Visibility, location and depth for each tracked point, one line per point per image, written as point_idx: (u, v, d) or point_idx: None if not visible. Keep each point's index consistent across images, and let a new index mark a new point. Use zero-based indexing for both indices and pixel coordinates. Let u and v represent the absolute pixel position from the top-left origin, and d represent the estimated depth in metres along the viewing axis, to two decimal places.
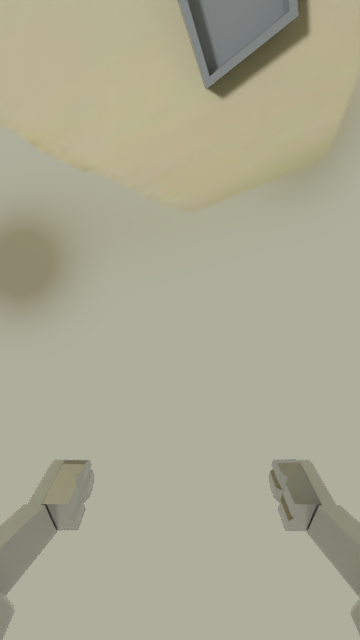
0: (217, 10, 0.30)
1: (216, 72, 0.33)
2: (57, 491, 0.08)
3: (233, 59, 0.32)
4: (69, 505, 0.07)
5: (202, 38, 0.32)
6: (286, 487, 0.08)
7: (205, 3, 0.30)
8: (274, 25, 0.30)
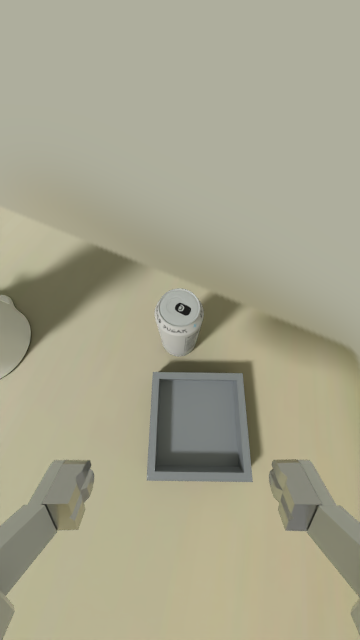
0: (203, 438, 0.32)
1: (244, 462, 0.28)
2: (57, 491, 0.08)
3: (243, 439, 0.29)
4: (69, 505, 0.07)
5: (212, 460, 0.31)
6: (286, 487, 0.08)
7: (194, 447, 0.31)
8: (238, 394, 0.31)
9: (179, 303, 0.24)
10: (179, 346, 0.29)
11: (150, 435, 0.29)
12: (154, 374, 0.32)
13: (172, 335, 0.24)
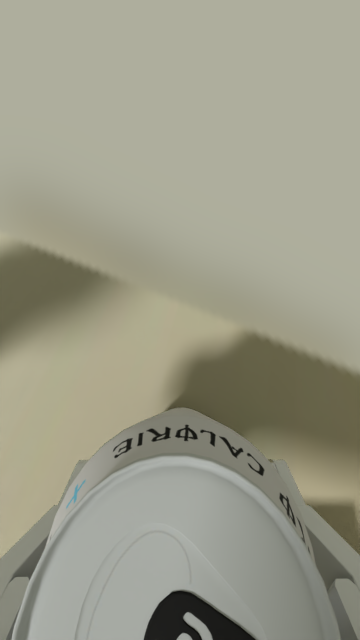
0: None
1: None
2: None
3: None
4: None
5: None
6: None
7: None
8: None
9: (180, 596, 0.03)
10: None
11: None
12: None
13: None
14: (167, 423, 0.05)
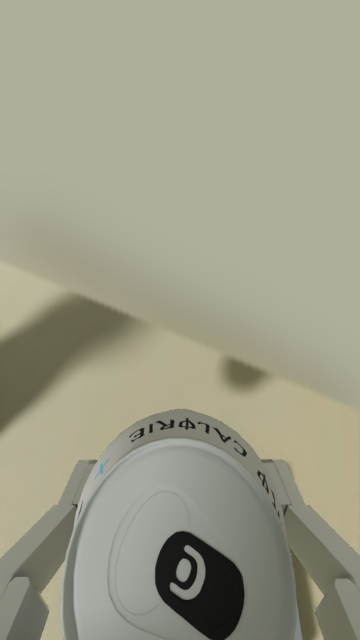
0: None
1: None
2: None
3: None
4: None
5: None
6: None
7: None
8: None
9: (181, 534, 0.05)
10: None
11: None
12: None
13: None
14: (171, 416, 0.07)
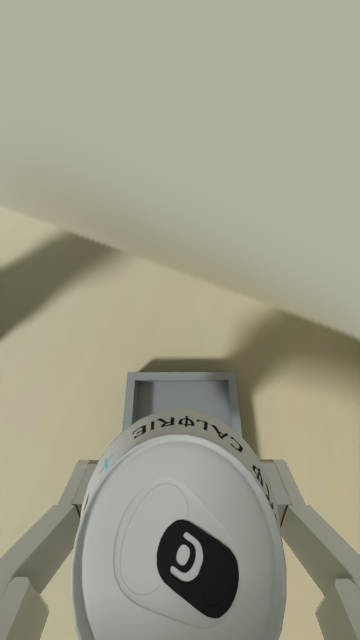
0: None
1: None
2: None
3: None
4: None
5: None
6: None
7: None
8: (231, 397, 0.26)
9: (180, 523, 0.05)
10: None
11: None
12: (129, 375, 0.27)
13: None
14: (172, 414, 0.07)
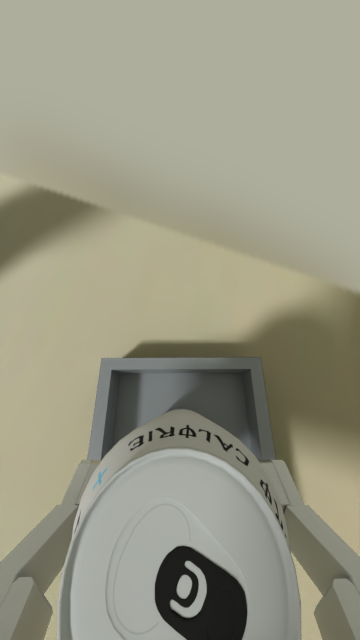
0: None
1: None
2: None
3: None
4: None
5: None
6: None
7: None
8: (255, 394, 0.17)
9: (181, 550, 0.04)
10: None
11: None
12: (103, 362, 0.18)
13: None
14: (172, 423, 0.06)
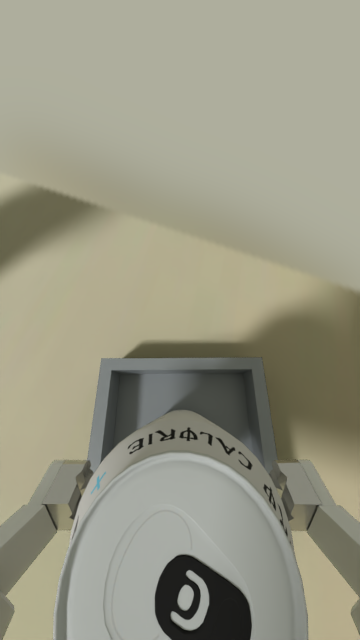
0: None
1: None
2: (57, 491, 0.08)
3: None
4: (69, 505, 0.07)
5: None
6: (286, 487, 0.08)
7: None
8: (257, 394, 0.17)
9: (182, 558, 0.04)
10: None
11: None
12: (103, 362, 0.18)
13: None
14: (172, 426, 0.06)
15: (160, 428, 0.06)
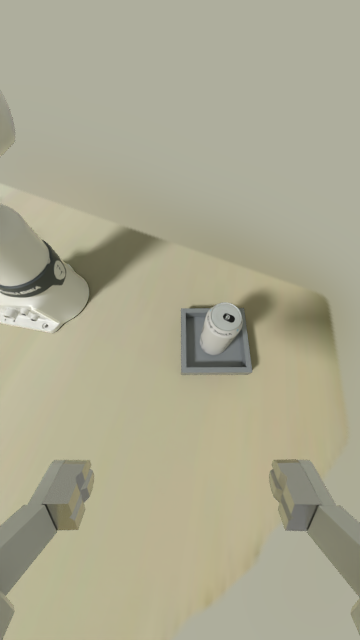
0: None
1: (246, 361, 0.42)
2: (57, 491, 0.08)
3: (245, 348, 0.43)
4: (69, 505, 0.07)
5: (224, 365, 0.44)
6: (286, 487, 0.08)
7: (212, 358, 0.45)
8: None
9: (226, 313, 0.32)
10: (220, 346, 0.37)
11: (182, 346, 0.43)
12: (182, 310, 0.46)
13: (220, 337, 0.33)
14: None
15: None
